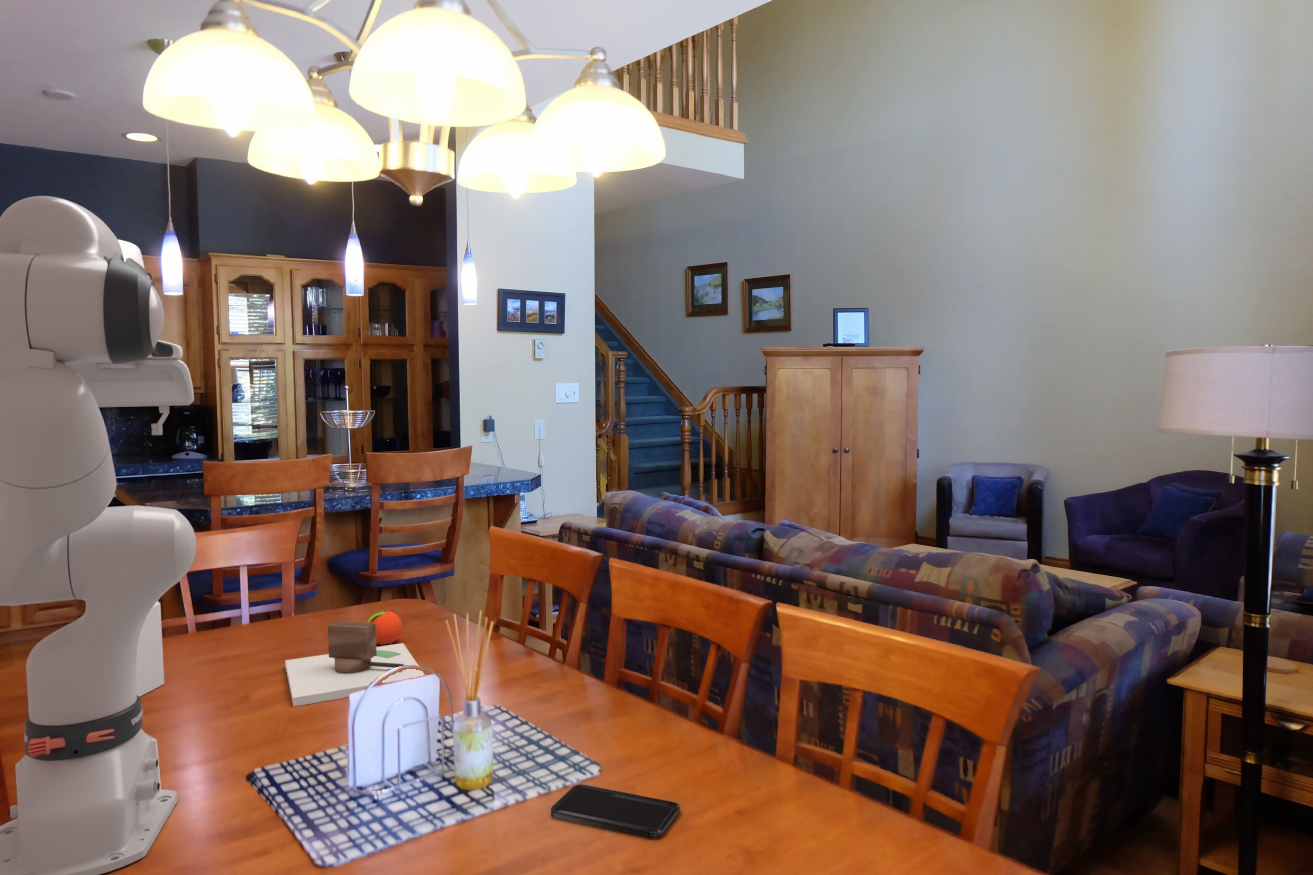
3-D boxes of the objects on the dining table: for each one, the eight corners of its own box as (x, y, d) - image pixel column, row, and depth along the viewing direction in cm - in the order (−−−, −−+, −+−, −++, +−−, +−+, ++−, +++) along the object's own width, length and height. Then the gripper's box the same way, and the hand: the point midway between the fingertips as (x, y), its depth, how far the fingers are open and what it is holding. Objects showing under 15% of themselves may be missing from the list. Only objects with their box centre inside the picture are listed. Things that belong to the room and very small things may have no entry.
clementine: (375, 652, 169) (374, 618, 168) (356, 646, 173) (355, 612, 172) (409, 643, 175) (408, 609, 174) (390, 637, 179) (389, 604, 179)
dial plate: (425, 683, 150) (425, 674, 150) (293, 706, 140) (292, 696, 140) (403, 650, 170) (403, 642, 170) (285, 667, 160) (285, 659, 160)
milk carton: (164, 684, 152) (159, 581, 151) (136, 699, 145) (131, 591, 143) (128, 683, 152) (123, 581, 151) (98, 698, 145) (93, 590, 144)
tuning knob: (393, 676, 150) (392, 632, 149) (323, 671, 153) (322, 628, 152) (411, 664, 156) (410, 622, 155) (344, 659, 159) (342, 618, 158)
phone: (658, 834, 98) (547, 810, 103) (658, 843, 98) (547, 819, 103) (682, 803, 105) (577, 782, 111) (682, 811, 105) (577, 790, 111)
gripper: (31, 345, 121) (37, 440, 122) (192, 347, 131) (196, 434, 132) (37, 347, 127) (42, 438, 127) (191, 348, 137) (195, 432, 138)
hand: (122, 436), depth 130 cm, fingers open, 8 cm apart
